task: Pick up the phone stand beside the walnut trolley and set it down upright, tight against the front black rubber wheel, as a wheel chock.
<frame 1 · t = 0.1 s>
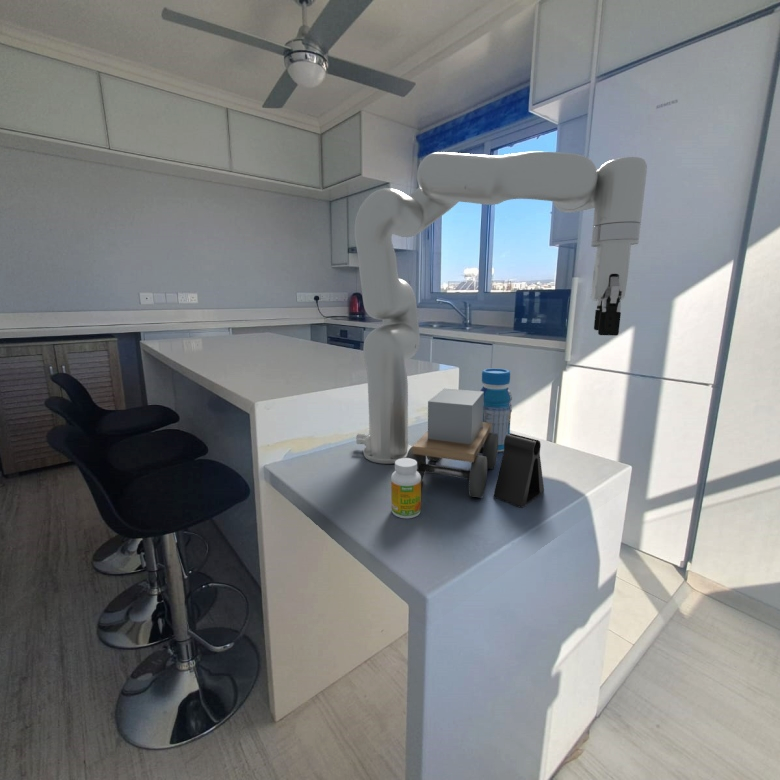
hand: (605, 332, 78), 31 cm above the table, tool pointing down, fingers open, 9 cm apart
trolley: (454, 475, 90), on the table
supplement bottle: (406, 512, 76), on the table
beverage bottle: (492, 447, 106), on the table
phone stand: (518, 495, 81), on the table
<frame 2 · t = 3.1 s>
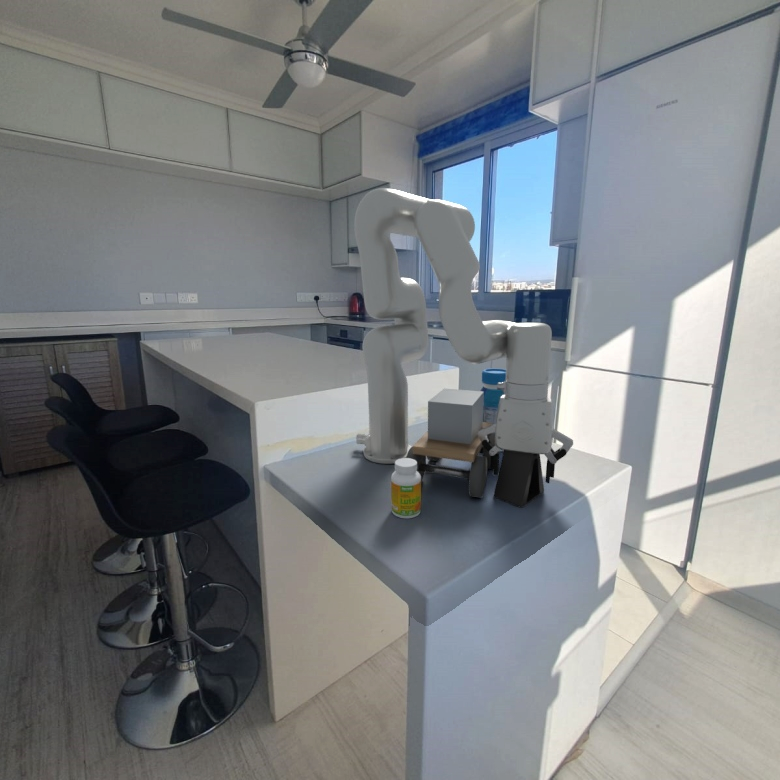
hand: (521, 476, 80), 4 cm above the table, tool pointing down, fingers open, 9 cm apart
nothing on the table moved.
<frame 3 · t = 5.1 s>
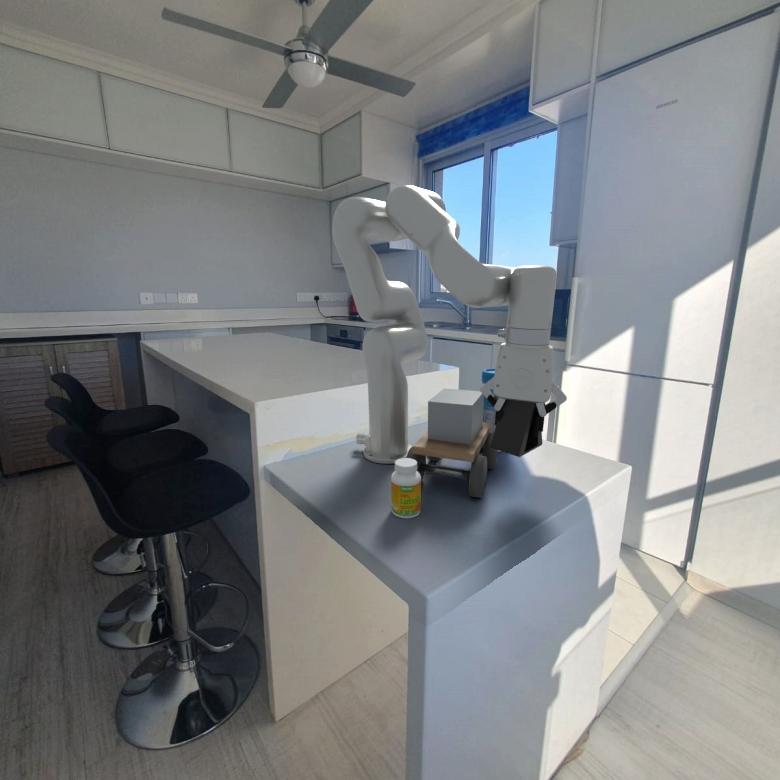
hand: (518, 430, 79), 13 cm above the table, tool pointing down, fingers closed on phone stand, 6 cm apart
phone stand: (516, 447, 79), point 10 cm above the table, touching gripper
everything else where it was.
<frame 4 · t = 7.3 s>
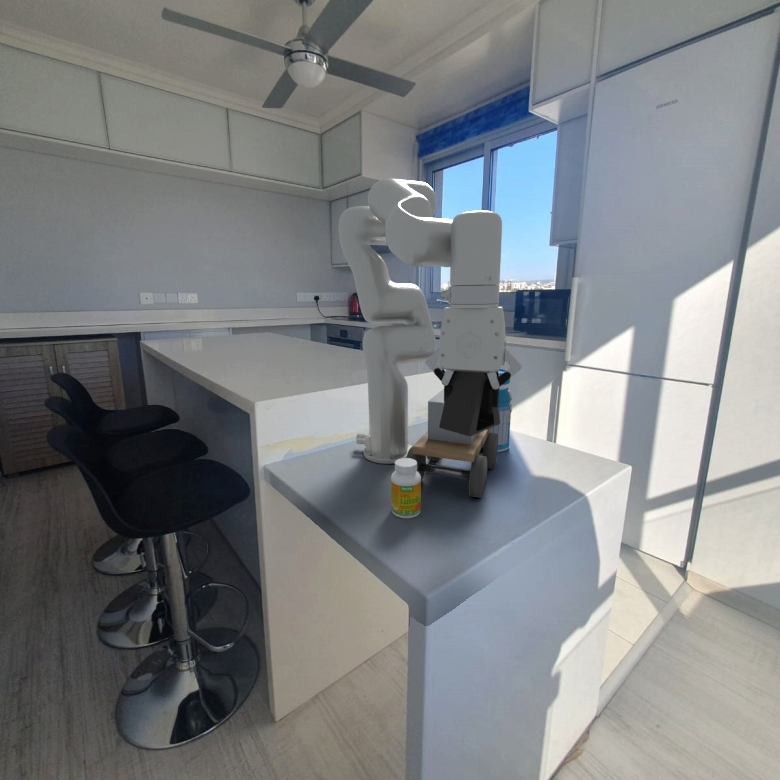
hand: (470, 408, 68), 20 cm above the table, tool pointing down, fingers closed on phone stand, 6 cm apart
phone stand: (470, 427, 69), point 17 cm above the table, touching gripper
everything else where it was.
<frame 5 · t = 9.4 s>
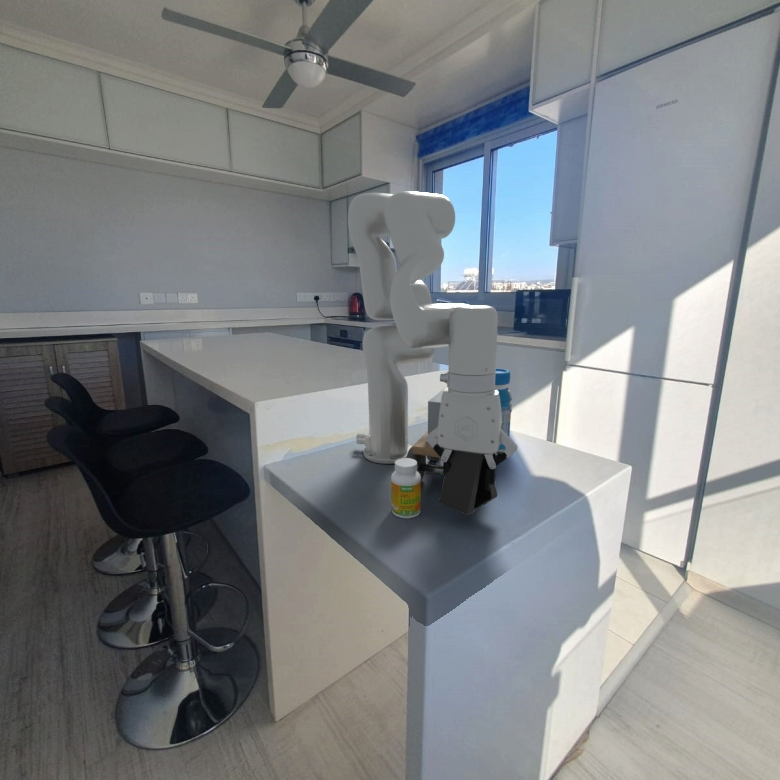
hand: (468, 483, 71), 7 cm above the table, tool pointing down, fingers closed on phone stand, 6 cm apart
phone stand: (468, 500, 72), point 3 cm above the table, touching gripper
everything else where it was.
when the fingers open (4 cm above the table, at t = 10.9 s): phone stand drops 1 cm, on the table.
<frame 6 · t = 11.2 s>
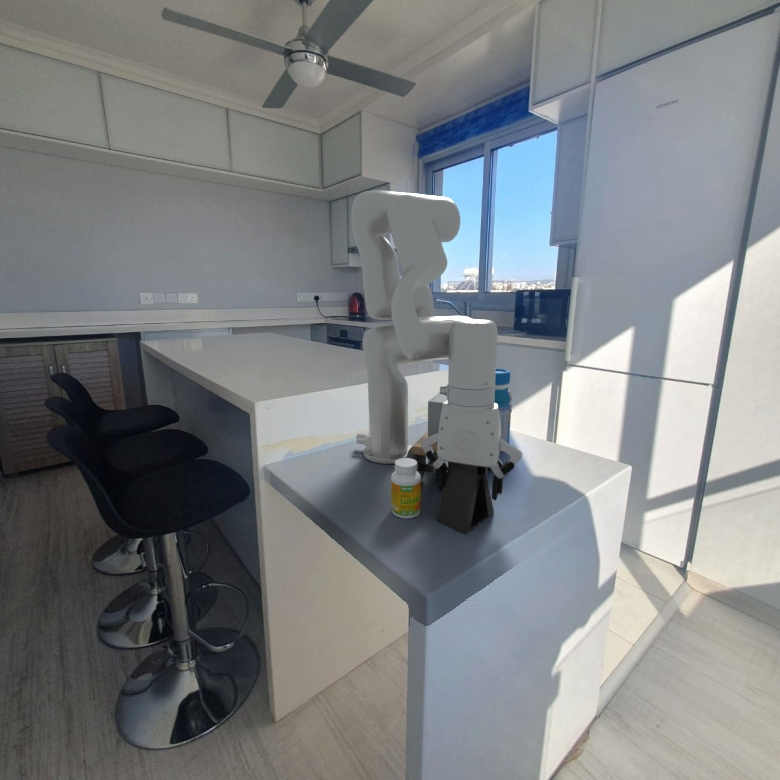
hand: (468, 491, 72), 5 cm above the table, tool pointing down, fingers open, 9 cm apart
phone stand: (465, 518, 73), on the table
everything else where it was.
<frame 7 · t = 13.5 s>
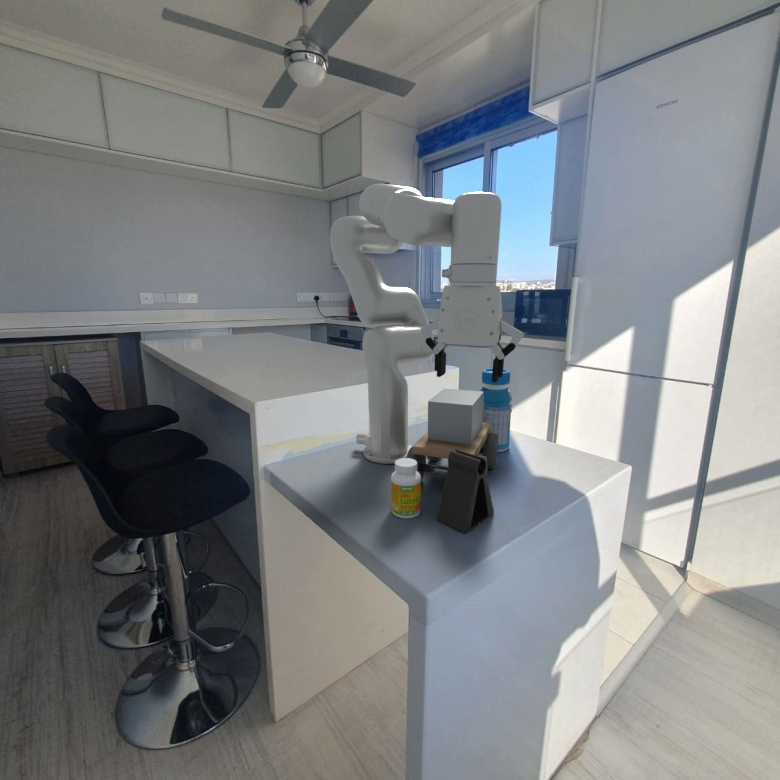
hand: (467, 378, 72), 24 cm above the table, tool pointing down, fingers open, 9 cm apart
nothing on the table moved.
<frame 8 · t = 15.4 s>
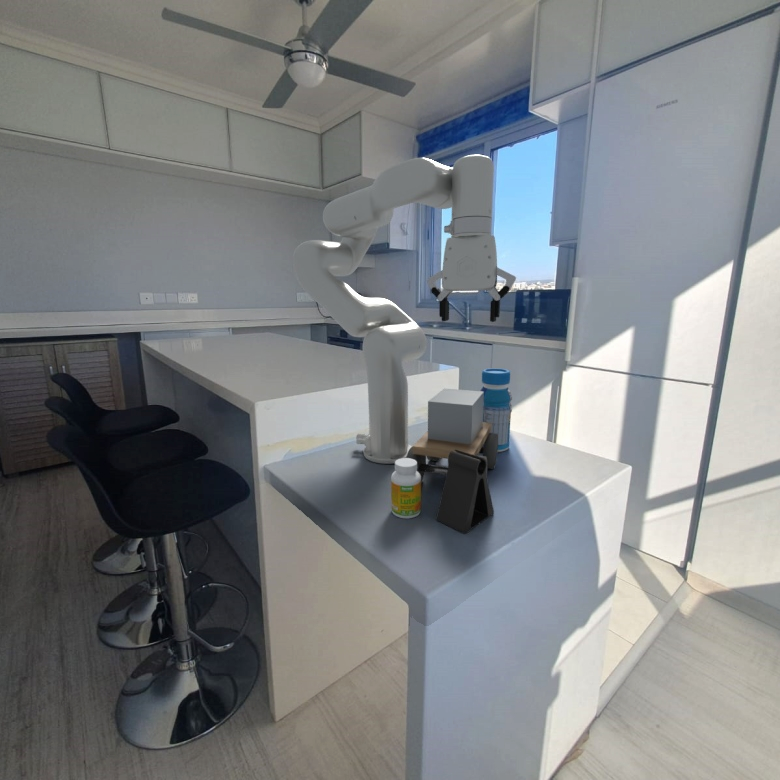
hand: (468, 321, 82), 33 cm above the table, tool pointing down, fingers open, 9 cm apart
nothing on the table moved.
at the end: phone stand 0.6 cm from the target spot, on the table; phone stand tilted 0°; the gripper is holding nothing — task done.
